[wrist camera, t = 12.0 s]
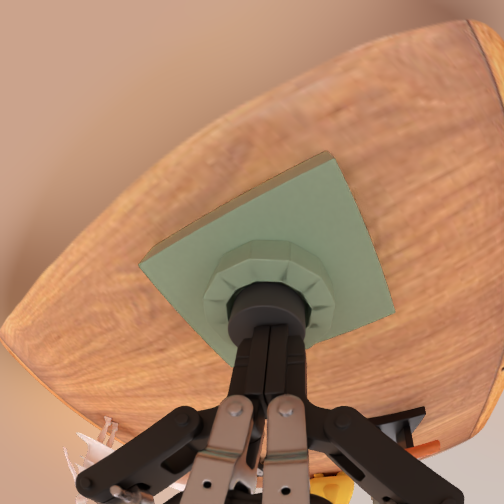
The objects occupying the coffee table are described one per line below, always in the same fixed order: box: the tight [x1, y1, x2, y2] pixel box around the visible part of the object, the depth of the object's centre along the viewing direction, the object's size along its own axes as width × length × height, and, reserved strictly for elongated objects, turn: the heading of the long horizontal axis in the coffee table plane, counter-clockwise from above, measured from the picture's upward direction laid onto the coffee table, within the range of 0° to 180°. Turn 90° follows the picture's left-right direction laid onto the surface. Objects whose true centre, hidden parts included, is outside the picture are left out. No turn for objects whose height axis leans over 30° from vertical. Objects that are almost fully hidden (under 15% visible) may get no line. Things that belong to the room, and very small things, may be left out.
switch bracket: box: [368, 407, 426, 504], centre depth 23 cm, size 10×8×12 cm
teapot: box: [310, 472, 354, 504], centre depth 38 cm, size 18×11×11 cm, turn 9°
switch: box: [405, 440, 440, 460], centre depth 18 cm, size 12×5×2 cm, turn 11°
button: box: [228, 282, 306, 347], centre depth 13 cm, size 4×4×2 cm
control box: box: [138, 151, 395, 367], centre depth 15 cm, size 10×12×4 cm
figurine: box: [63, 416, 119, 504], centre depth 29 cm, size 13×10×20 cm
